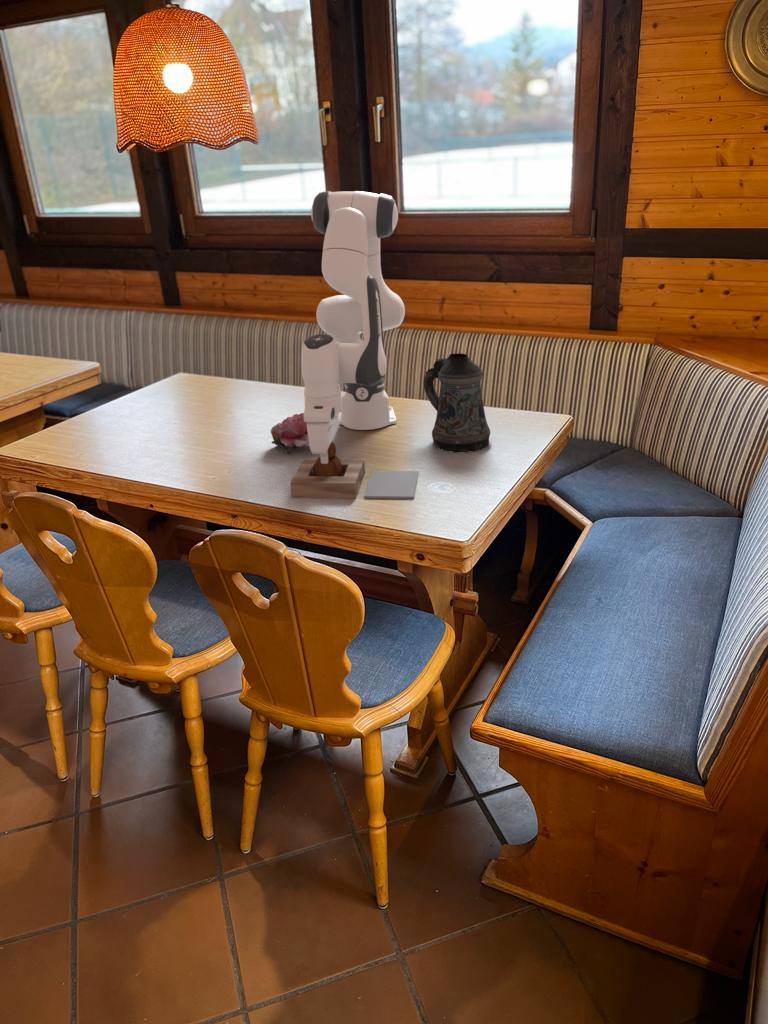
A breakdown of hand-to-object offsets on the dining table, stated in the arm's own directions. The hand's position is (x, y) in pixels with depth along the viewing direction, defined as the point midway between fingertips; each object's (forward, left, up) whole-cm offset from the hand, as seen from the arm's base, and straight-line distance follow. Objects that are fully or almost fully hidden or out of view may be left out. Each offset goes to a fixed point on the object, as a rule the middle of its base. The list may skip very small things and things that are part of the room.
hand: (327, 457), depth 188 cm
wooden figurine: (0, 0, -7) cm, 7 cm away
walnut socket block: (0, 0, -7) cm, 7 cm away
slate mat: (0, +16, -7) cm, 18 cm away
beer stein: (-31, +31, -8) cm, 44 cm away
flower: (-26, -14, -8) cm, 30 cm away
